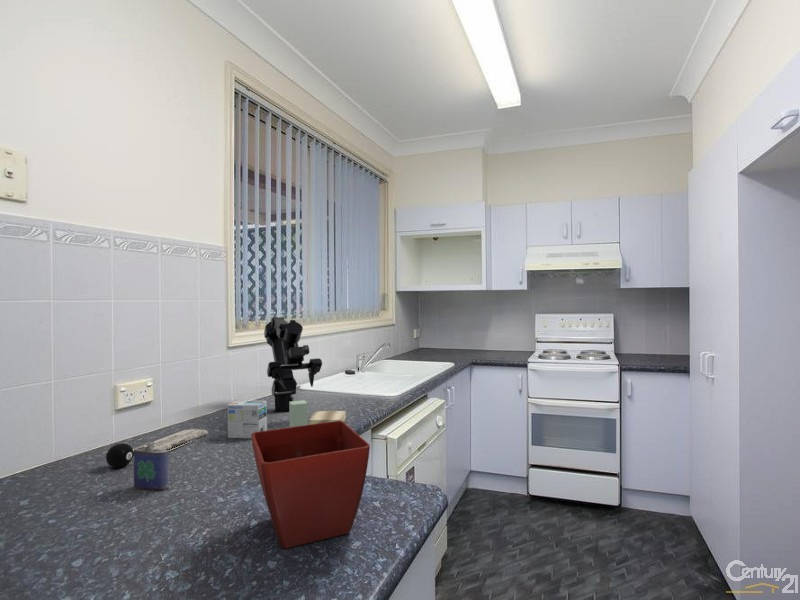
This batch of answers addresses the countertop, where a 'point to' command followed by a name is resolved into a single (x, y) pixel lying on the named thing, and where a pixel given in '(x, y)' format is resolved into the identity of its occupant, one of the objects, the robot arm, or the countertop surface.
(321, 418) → the slab
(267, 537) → the countertop surface
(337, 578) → the countertop surface
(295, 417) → the tall block
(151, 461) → the flask
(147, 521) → the countertop surface
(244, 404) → the light bulb box
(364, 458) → the plant pot
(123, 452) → the billiard ball
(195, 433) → the newspaper
